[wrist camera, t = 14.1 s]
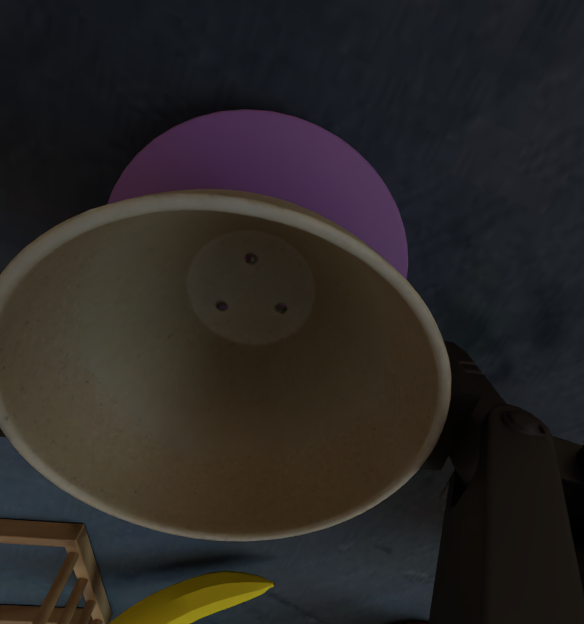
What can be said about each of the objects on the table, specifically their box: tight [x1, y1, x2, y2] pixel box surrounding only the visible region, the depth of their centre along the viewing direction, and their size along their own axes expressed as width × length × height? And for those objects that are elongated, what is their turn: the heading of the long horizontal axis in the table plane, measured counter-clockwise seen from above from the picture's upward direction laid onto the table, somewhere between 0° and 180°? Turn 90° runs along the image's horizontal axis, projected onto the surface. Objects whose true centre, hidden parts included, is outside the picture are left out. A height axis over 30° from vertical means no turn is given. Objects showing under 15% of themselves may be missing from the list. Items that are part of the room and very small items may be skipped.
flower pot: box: [0, 189, 451, 541], centre depth 10 cm, size 10×10×7 cm
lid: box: [107, 109, 408, 310], centre depth 15 cm, size 13×13×1 cm
